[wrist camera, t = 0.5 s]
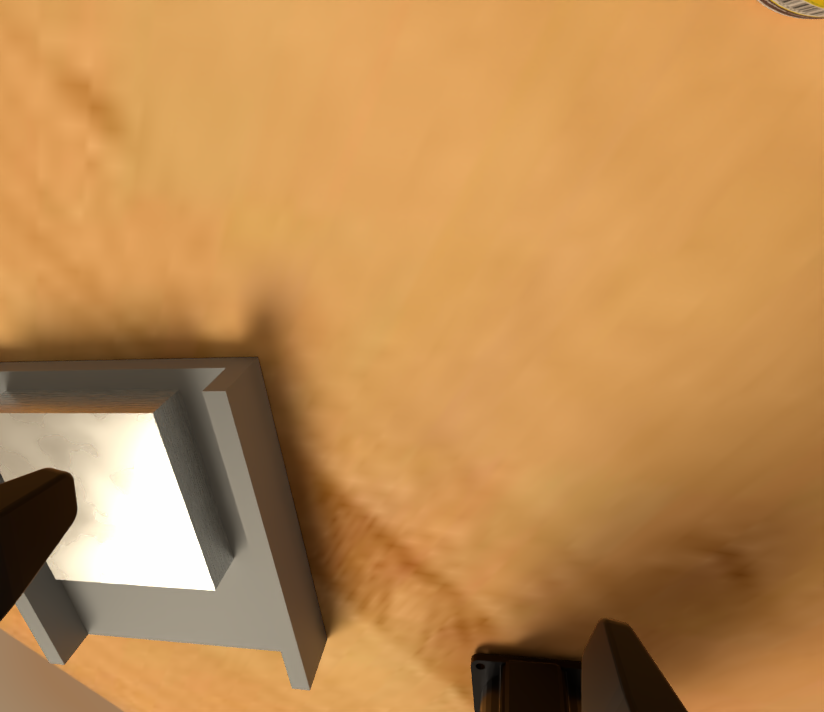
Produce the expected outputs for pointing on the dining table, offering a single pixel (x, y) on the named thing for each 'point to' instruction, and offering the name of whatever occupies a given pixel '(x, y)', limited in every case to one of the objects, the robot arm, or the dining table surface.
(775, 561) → the dining table surface
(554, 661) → the robot arm
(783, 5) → the supplement bottle
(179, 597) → the slide box
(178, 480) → the cover plate
